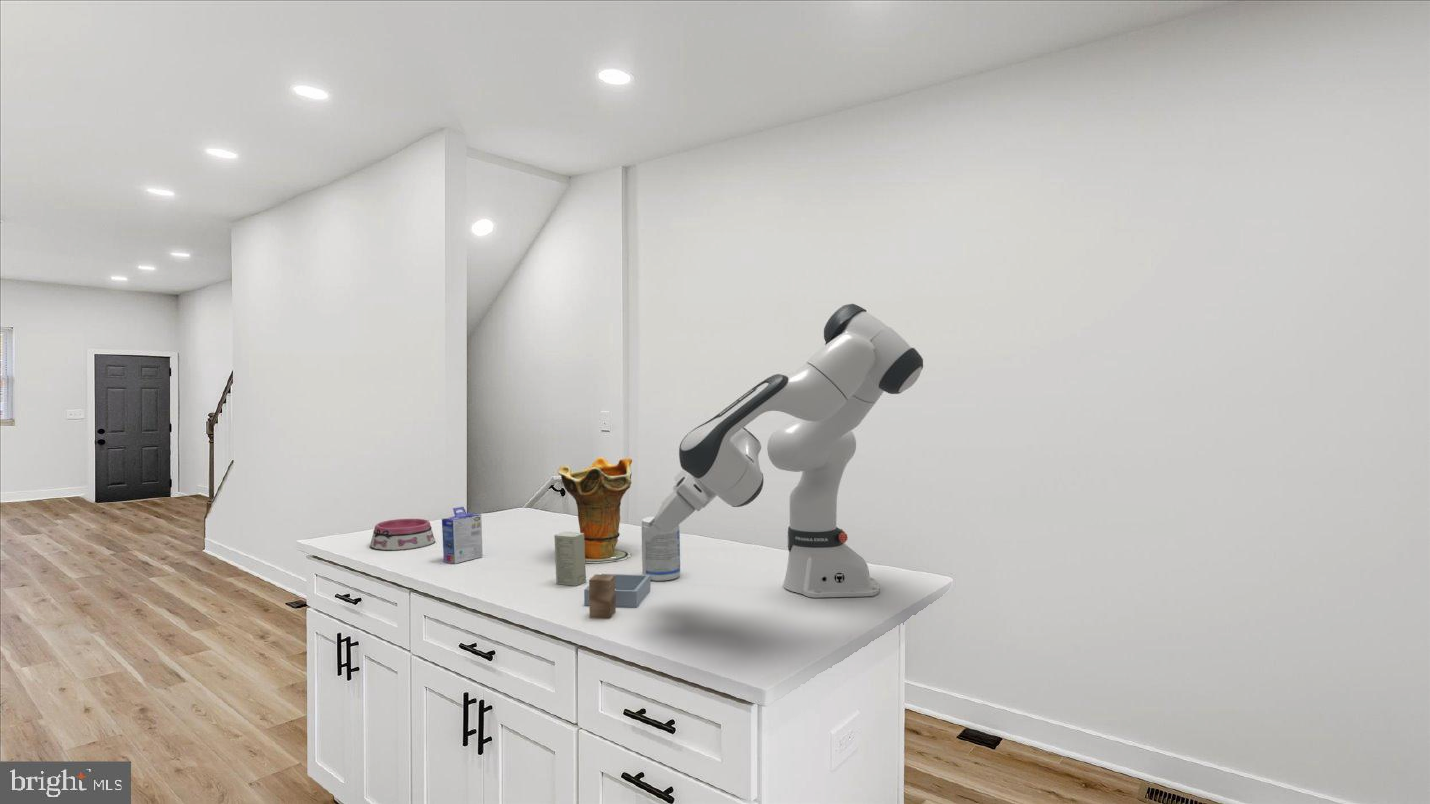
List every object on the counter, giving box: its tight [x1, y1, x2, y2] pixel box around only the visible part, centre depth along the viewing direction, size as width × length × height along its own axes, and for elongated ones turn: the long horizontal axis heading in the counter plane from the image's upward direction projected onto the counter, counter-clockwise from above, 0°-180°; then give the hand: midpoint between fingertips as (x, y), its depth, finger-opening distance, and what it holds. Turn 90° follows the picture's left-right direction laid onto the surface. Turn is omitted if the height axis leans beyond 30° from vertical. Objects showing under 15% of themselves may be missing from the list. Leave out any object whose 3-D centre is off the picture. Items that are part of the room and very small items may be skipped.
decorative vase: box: [557, 456, 633, 564], centre depth 207 cm, size 21×23×28 cm
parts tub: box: [583, 573, 652, 608], centre depth 168 cm, size 12×14×4 cm
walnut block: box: [588, 573, 617, 620], centre depth 155 cm, size 4×4×8 cm
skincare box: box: [553, 531, 587, 587], centre depth 180 cm, size 6×4×12 cm
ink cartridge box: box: [441, 506, 484, 565], centre depth 205 cm, size 10×6×14 cm, turn 148°
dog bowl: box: [369, 518, 436, 552], centre depth 225 cm, size 18×19×7 cm
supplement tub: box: [641, 515, 681, 582], centre depth 185 cm, size 10×10×15 cm
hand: (647, 533), depth 153 cm, fingers open, 8 cm apart
